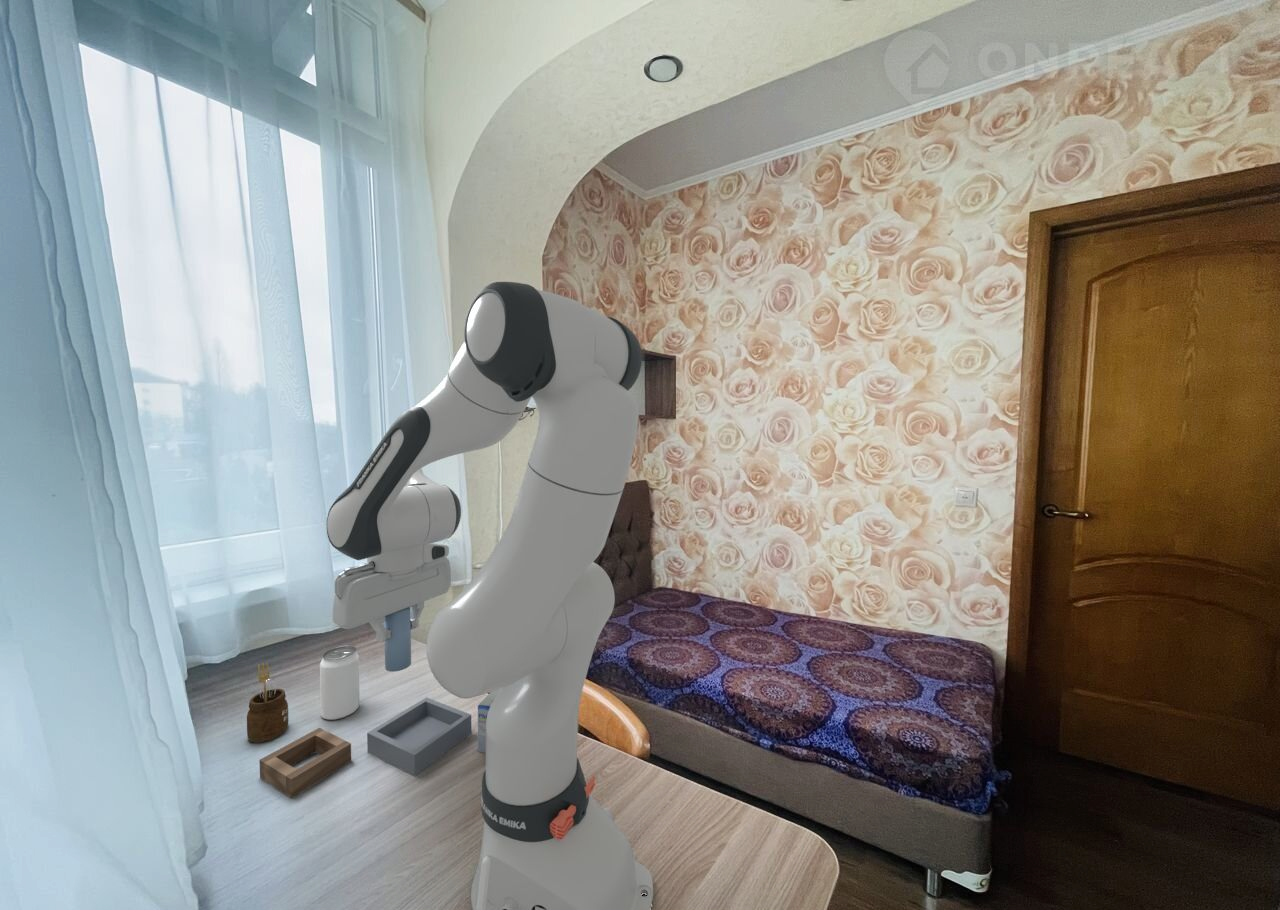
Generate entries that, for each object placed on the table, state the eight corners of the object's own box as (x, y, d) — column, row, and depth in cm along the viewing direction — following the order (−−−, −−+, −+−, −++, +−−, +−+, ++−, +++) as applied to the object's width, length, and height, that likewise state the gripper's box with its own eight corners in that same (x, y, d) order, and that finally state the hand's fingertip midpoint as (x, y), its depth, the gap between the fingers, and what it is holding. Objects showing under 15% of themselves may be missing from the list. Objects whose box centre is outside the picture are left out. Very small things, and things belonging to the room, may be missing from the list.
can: (340, 723, 87) (339, 662, 87) (312, 718, 89) (311, 658, 88) (367, 703, 94) (366, 646, 93) (340, 699, 95) (339, 643, 94)
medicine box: (499, 724, 88) (499, 680, 87) (521, 728, 87) (521, 683, 86) (476, 752, 80) (476, 704, 80) (500, 756, 79) (500, 708, 79)
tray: (471, 732, 85) (471, 714, 85) (414, 775, 74) (414, 755, 74) (426, 714, 90) (426, 697, 90) (367, 752, 80) (367, 732, 79)
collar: (351, 760, 78) (350, 743, 77) (291, 798, 70) (291, 779, 69) (319, 743, 82) (319, 727, 81) (259, 777, 73) (259, 759, 73)
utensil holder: (250, 748, 80) (248, 682, 79) (244, 732, 84) (242, 669, 84) (292, 732, 84) (290, 669, 84) (284, 718, 89) (282, 657, 88)
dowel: (416, 663, 81) (415, 607, 80) (395, 673, 77) (394, 615, 77) (400, 658, 83) (399, 603, 82) (380, 668, 79) (378, 611, 79)
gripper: (347, 574, 68) (350, 665, 69) (456, 544, 87) (457, 616, 87) (322, 568, 71) (324, 656, 72) (432, 541, 90) (433, 611, 90)
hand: (398, 634), depth 80 cm, fingers closed on dowel, 4 cm apart
